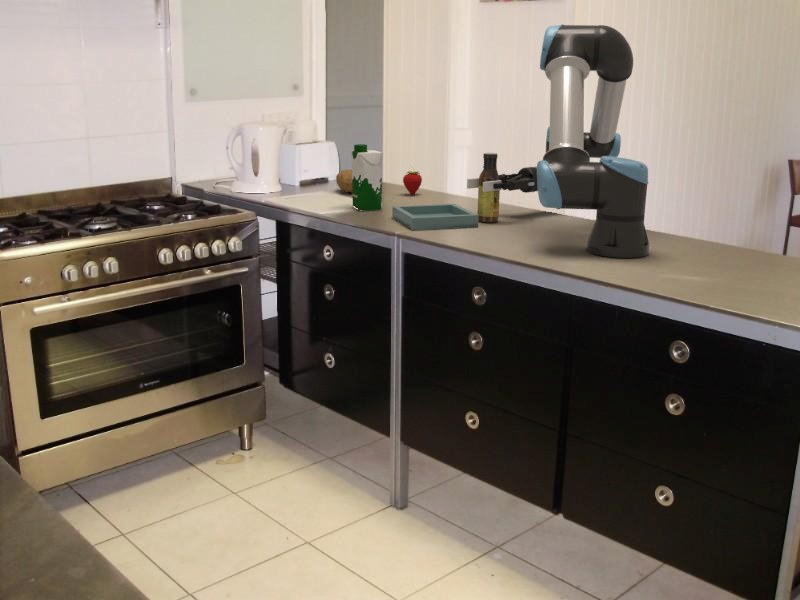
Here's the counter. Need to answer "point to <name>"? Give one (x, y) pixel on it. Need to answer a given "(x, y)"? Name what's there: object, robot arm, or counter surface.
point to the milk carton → (366, 178)
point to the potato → (345, 180)
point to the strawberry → (412, 181)
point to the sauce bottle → (489, 199)
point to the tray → (434, 217)
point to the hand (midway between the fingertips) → (475, 185)
